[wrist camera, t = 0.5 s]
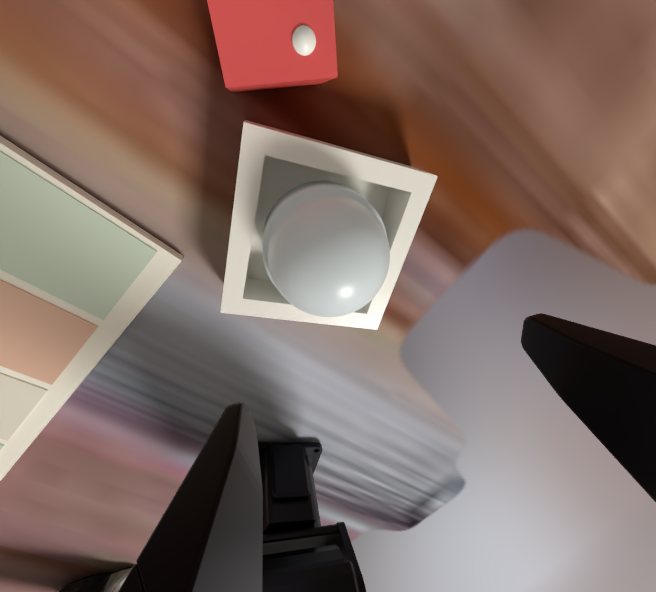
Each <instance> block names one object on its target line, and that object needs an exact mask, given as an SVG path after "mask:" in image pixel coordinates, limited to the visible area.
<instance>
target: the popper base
mask: <svg viewBox="0 0 656 592" xmlns="http://www.w3.org/2000/svg"><path fill="white" fill-rule="evenodd" d="M437 177H438V176H436V175H433V174H431V173H428V172H425V171H423V170H420V169H417V168H415V167H412V166H408V165H405V164H401V163H398V162H394V161H391V160H387V159H384V158H380V157H376V156H373V155H369V154H366V153H362V152H359V151H355V150H352V149H348V148H344V147H341V146H337V145H334V144H330V143H327V142H323V141H320V140H316V139H312V138H309V137H305V136H302V135H298V134H295V133H291V132H288V131H284V130H281V129H277V128H273V127H270V126H266V125H263V124H259V123H256V122H252V121H249V120H245V121H244V123H243V131H242V139H241V148H240V156H239V164H238V172H237V180H236V189H235V197H234V205H233V213H232V222H231V230H230V238H229V246H228V255H227V263H226V271H225V279H224V288H223V296H222V304H221V312H220V313H228V314H237V315H246V316H255V317H264V318H274V319H283V320H292V321H301V322H310V323H320V324H329V325H338V326H347V327H356V328H366V329H375V330H377V329H378V326H379V324H380V321H381V318H382V316H383V313H384V311H385V308H386V306H387V303H388V301H389V298H390V296H391V293H392V291H393V288H394V286H395V283H396V281H397V278H398V276H399V273H400V270H401V268H402V265H403V263H404V260H405V258H406V255H407V253H408V250H409V248H410V245H411V243H412V240H413V238H414V235H415V233H416V230H417V228H418V225H419V222H420V220H421V217H422V215H423V212H424V210H425V207H426V205H427V202H428V200H429V197H430V195H431V192H432V190H433V187H434V185H435V182H436V180H437ZM312 181H332V182H337V183H340V184H343V185H345V186H347V187H349V188H351V189H352V190H354V191H355V192H357V193H358V194H359V195H360V196H362V197H363V198H364V199H365V200H366V201H367V202H369V203H370V204H371V205H372V206H373V207H374V208H375V210H376V211H377V212H378V214H379V215H380V217H381V219H382V221H383V223H384V226H385V229H386V233H387V238H388V242H389V249H390V263H389V269H388V273H387V276H386V279H385V281H384V283H383V285H382V287H381V289H380V290H379V291H378V293H377V294H376V295H375V297H374V298H373V299H372V300H371V301H370V302H368V303H367V304H366V305H365V306H363V307H362V308H360V309H358V310H357V311H355V312H352V313H350V314H347V315H343V316H338V317H320V316H314V315H311V314H308V313H306V312H303V311H301V310H299V309H298V308H296V307H294V306H293V305H292V304H291V303H289V302H288V301H287V300H286V299H285V298H284V297H283V296H282V295H281V293H280V292H279V290H278V289H277V288H276V287H275V286H274V284H273V283H272V282H271V280H270V278H269V276H268V274H267V272H266V269H265V265H264V260H263V240H262V236H263V228H264V224H265V221H266V218H267V216H268V214H269V212H270V210H271V208H272V207H273V206H274V204H275V203H276V202H277V201H278V200H279V199H280V198H281V197H282V196H283V195H284V194H285V193H287V192H288V191H289V190H291V189H293V188H295V187H296V186H299V185H301V184H304V183H308V182H312Z"/></svg>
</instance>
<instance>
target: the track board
mask: <svg viewBox="0 0 656 592" xmlns="http://www.w3.org/2000/svg"><path fill="white" fill-rule="evenodd" d="M183 257H184V256H183V255H181V254H179V253H178V252H176V251H175V250H173V249H172V248H170V247H169V246H167V245H166V244H164V243H163V242H161V241H160V240H158V239H157V238H155V237H154V236H152V235H151V234H149V233H148V232H146V231H145V230H143V229H142V228H140V227H139V226H137V225H135V224H134V223H132V222H131V221H129V220H128V219H126V218H125V217H123V216H122V215H120V214H119V213H117V212H116V211H114V210H113V209H111V208H110V207H108V206H107V205H105V204H104V203H102V202H101V201H99V200H98V199H96V198H95V197H93V196H91V195H90V194H88V193H87V192H85V191H84V190H82V189H81V188H79V187H78V186H76V185H75V184H73V183H72V182H70V181H69V180H67V179H66V178H64V177H63V176H61V175H60V174H58V173H57V172H55V171H54V170H52V169H51V168H49V167H47V166H46V165H44V164H43V163H41V162H40V161H38V160H37V159H35V158H34V157H32V156H31V155H29V154H28V153H26V152H25V151H23V150H22V149H20V148H19V147H17V146H16V145H14V144H13V143H11V142H10V141H8V140H7V139H5V138H3V137H2V136H0V481H1V479H2V478H3V477H4V476H5V475H6V473H7V472H8V471H9V470H10V469H11V467H12V466H13V465H14V464H15V463H16V461H17V460H18V459H19V458H20V456H21V455H22V454H23V453H24V452H25V450H26V449H27V448H28V447H29V446H30V444H31V443H32V442H33V441H34V439H35V438H36V437H37V436H38V435H39V433H40V432H41V431H42V430H43V429H44V427H45V426H46V425H47V424H48V422H49V421H50V420H51V419H52V418H53V416H54V415H55V414H56V413H57V412H58V410H59V409H60V408H61V407H62V405H63V404H64V403H65V402H66V401H67V399H68V398H69V397H70V396H71V395H72V393H73V392H74V391H75V390H76V388H77V387H78V386H79V385H80V384H81V382H82V381H83V380H84V379H85V378H86V376H87V375H88V374H89V373H90V371H91V370H92V369H93V368H94V367H95V365H96V364H97V363H98V362H99V361H100V359H101V358H102V357H103V356H104V354H105V353H106V352H107V351H108V350H109V348H110V347H111V346H112V345H113V344H114V342H115V341H116V340H117V339H118V337H119V336H120V335H121V334H122V333H123V331H124V330H125V329H126V328H127V327H128V325H129V324H130V323H131V322H132V320H133V319H134V318H135V317H136V316H137V314H138V313H139V312H140V311H141V310H142V308H143V307H144V306H145V305H146V303H147V302H148V301H149V300H150V299H151V297H152V296H153V295H154V294H155V293H156V291H157V290H158V289H159V288H160V286H161V285H162V284H163V283H164V282H165V280H166V279H167V278H168V277H169V276H170V274H171V273H172V272H173V271H174V269H175V268H176V267H177V266H178V265H179V263H180V262H181V261H182V259H183Z"/></svg>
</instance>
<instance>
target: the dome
mask: <svg viewBox="0 0 656 592" xmlns="http://www.w3.org/2000/svg"><path fill="white" fill-rule="evenodd" d="M262 240H263V260H264V265H265V269H266V272H267V274H268V276H269V278H270V280H271V282H272V283H273V284H274V286H275V287H276V288H277V289H278V290H279V292H280V293H281V295H282V296H283V297H284V298H285V299H286V300H287V301H288V302H289V303H291V304H292V305H293V306H294V307H296V308H298V309H299V310H301V311H303V312H306V313H308V314H311V315H314V316H320V317H338V316H343V315H347V314H350V313H352V312H355V311H357V310H358V309H360V308H362V307H363V306H365V305H366V304H367V303H368V302H370V301H371V300H372V299H373V298H374V297H375V295H376V294H377V293H378V291H379V290H380V289H381V287H382V285H383V283H384V281H385V279H386V276H387V273H388V269H389V263H390V249H389V242H388V238H387V233H386V229H385V226H384V223H383V221H382V219H381V217H380V215H379V214H378V212H377V211H376V210H375V208H374V207H373V206H372V205H371V204H370V203H369V202H367V201H366V200H365V199H364V198H363V197H362V196H360V195H359V194H358V193H357V192H355V191H354V190H352V189H351V188H349V187H347V186H345V185H343V184H340V183H337V182H332V181H312V182H308V183H304V184H301V185H299V186H296V187H295V188H293V189H291V190H289V191H288V192H287V193H285V194H284V195H283V196H282V197H281V198H280V199H279V200H278V201H277V202H276V203H275V204H274V206H273V207H272V208H271V210H270V212H269V214H268V216H267V218H266V221H265V224H264V228H263V236H262Z"/></svg>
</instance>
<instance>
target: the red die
mask: <svg viewBox="0 0 656 592" xmlns="http://www.w3.org/2000/svg"><path fill="white" fill-rule="evenodd" d="M207 2H208V7H209V12H210V16H211V21H212V26H213V30H214V35H215V40H216V44H217V49H218V54H219V59H220V63H221V68H222V73H223V77H224V82H225V87H226V88H227V89H228V90H230V91H231V92H244V91H254V90H264V89H275V88H285V87H296V86H306V85H316V84H321V83H324V82H326V81H329V80H332V79H334V78H337V77H338V73H337V56H336V39H335V22H334V5H333V0H207Z"/></svg>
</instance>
